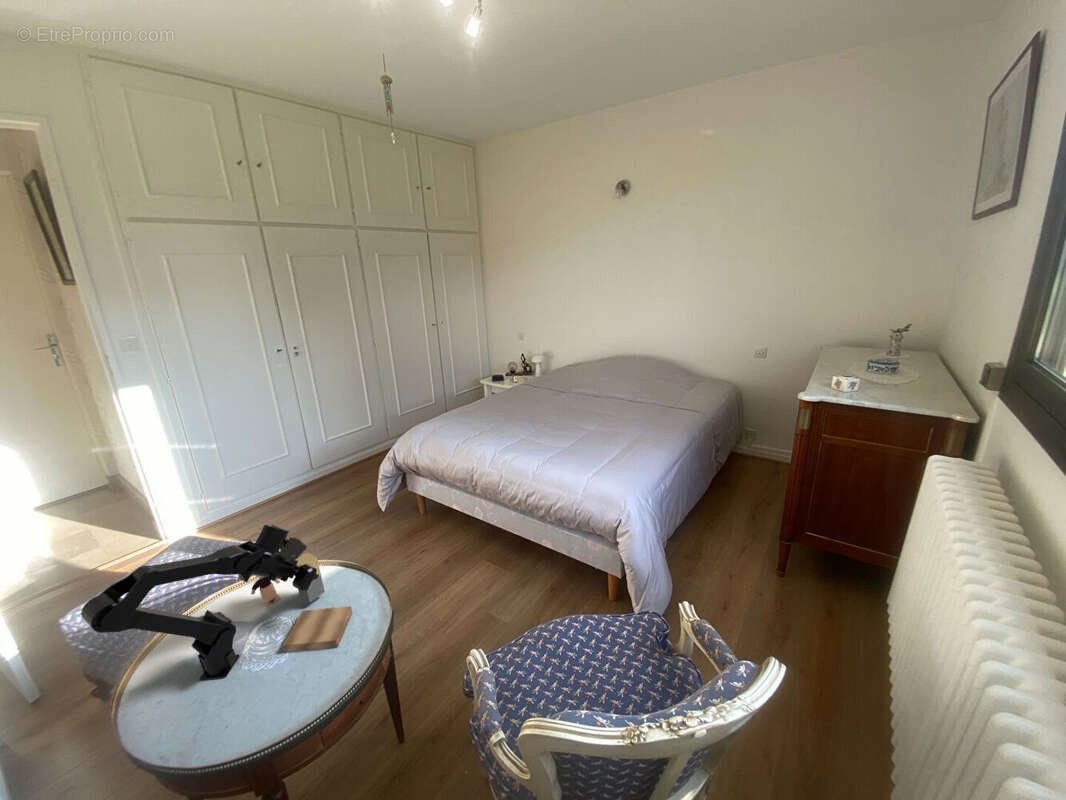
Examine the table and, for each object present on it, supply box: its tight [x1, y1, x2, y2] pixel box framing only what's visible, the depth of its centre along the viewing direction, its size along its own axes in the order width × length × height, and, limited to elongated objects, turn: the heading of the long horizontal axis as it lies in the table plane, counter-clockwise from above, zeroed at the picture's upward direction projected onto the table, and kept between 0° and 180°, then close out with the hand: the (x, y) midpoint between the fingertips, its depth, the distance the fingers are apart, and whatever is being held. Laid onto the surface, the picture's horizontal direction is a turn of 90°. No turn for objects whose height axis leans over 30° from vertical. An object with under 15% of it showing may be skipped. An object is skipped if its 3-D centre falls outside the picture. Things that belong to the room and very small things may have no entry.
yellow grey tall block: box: [295, 552, 326, 603], centre depth 131 cm, size 5×5×13 cm
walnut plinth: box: [282, 606, 353, 653], centre depth 121 cm, size 14×12×2 cm
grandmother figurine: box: [250, 575, 281, 606], centre depth 131 cm, size 8×4×13 cm, turn 144°
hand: (312, 573), depth 132 cm, fingers closed on yellow grey tall block, 5 cm apart
